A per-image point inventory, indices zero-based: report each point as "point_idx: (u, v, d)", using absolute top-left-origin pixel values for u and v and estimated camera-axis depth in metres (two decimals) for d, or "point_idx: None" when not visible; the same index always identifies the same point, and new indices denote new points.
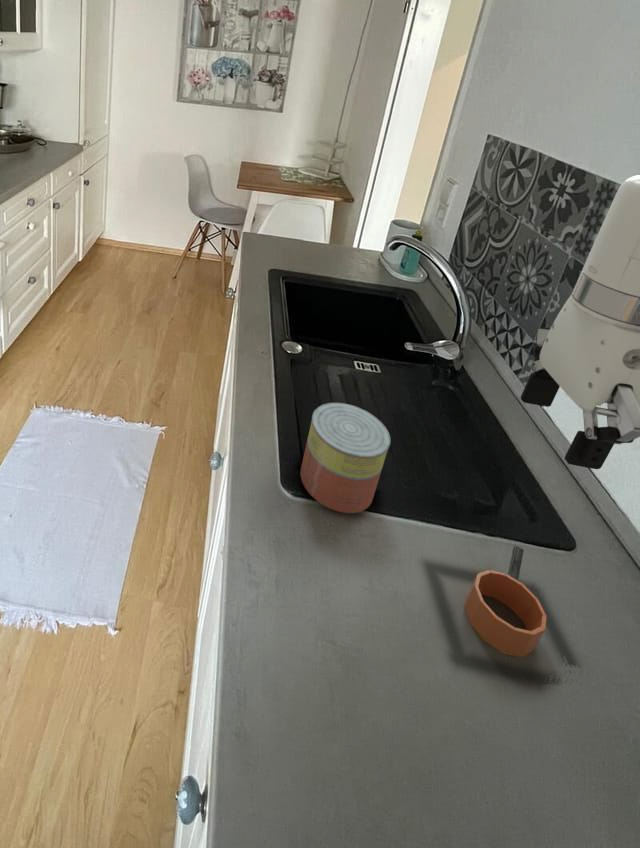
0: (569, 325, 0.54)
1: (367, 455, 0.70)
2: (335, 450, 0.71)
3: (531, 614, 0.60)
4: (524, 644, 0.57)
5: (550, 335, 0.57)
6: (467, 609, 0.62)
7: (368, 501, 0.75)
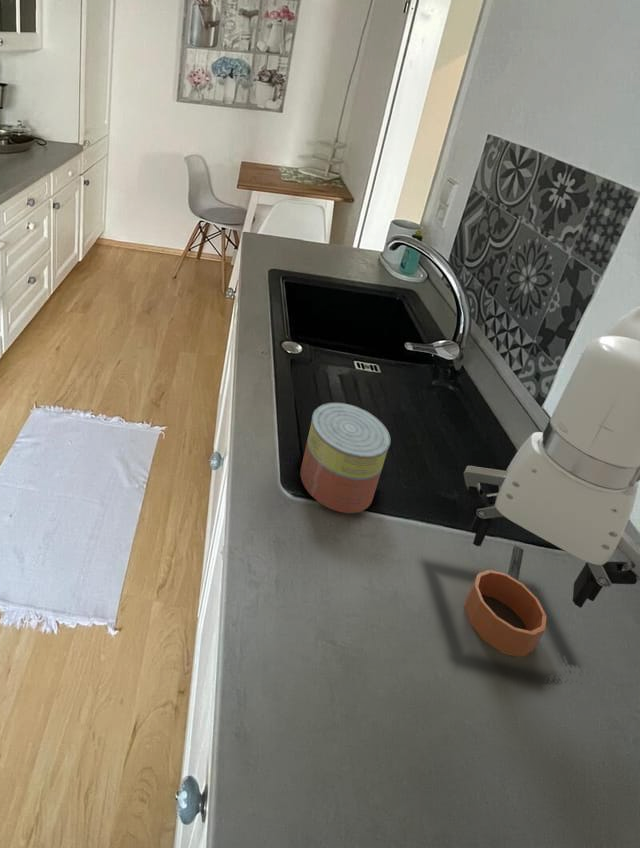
0: (553, 490, 0.52)
1: (367, 455, 0.70)
2: (335, 450, 0.71)
3: (531, 614, 0.60)
4: (524, 644, 0.57)
5: (516, 493, 0.54)
6: (467, 609, 0.62)
7: (368, 501, 0.75)
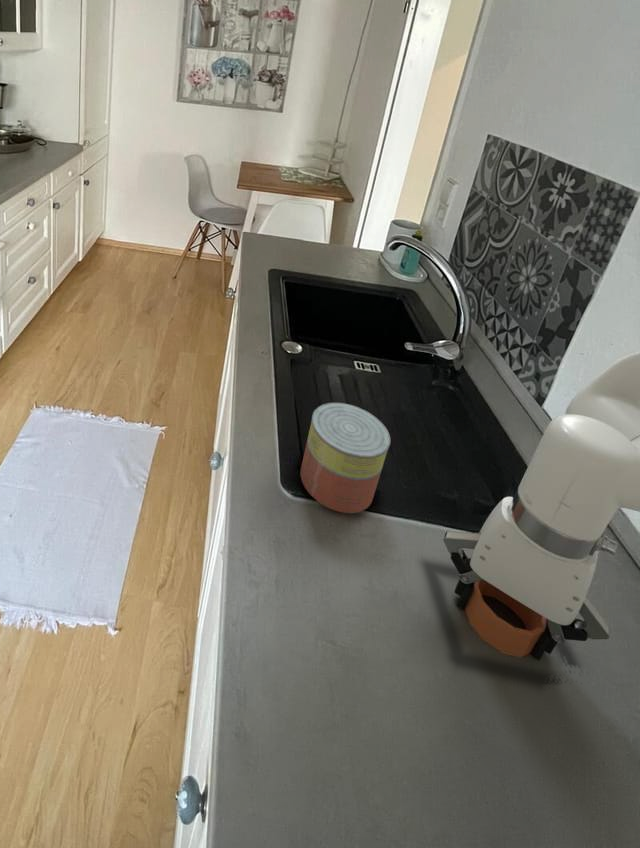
0: (521, 555, 0.55)
1: (367, 455, 0.70)
2: (335, 450, 0.72)
3: (531, 614, 0.60)
4: (524, 644, 0.57)
5: (488, 555, 0.58)
6: (467, 609, 0.62)
7: (368, 501, 0.75)
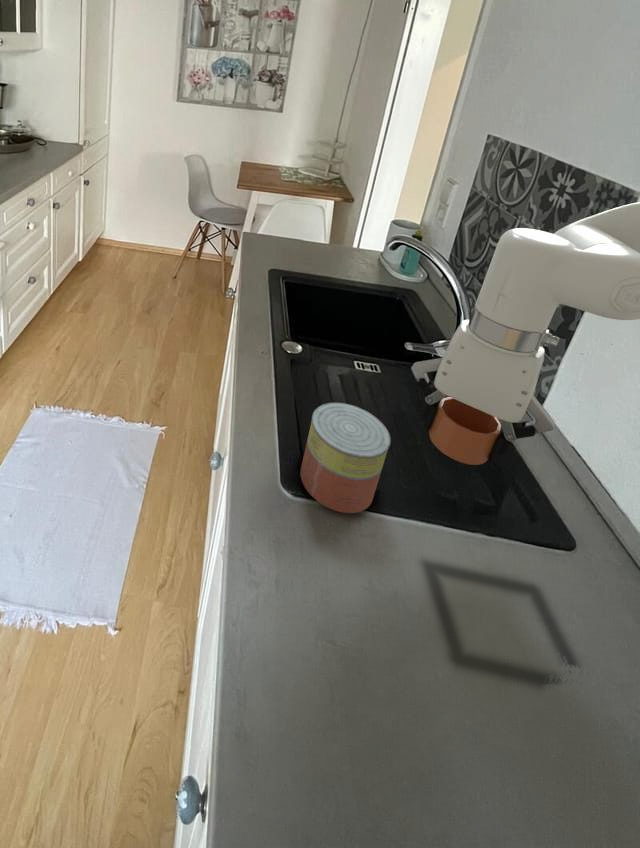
0: (477, 361, 0.62)
1: (367, 455, 0.70)
2: (335, 450, 0.71)
3: (489, 429, 0.67)
4: (481, 447, 0.64)
5: (449, 369, 0.64)
6: (432, 429, 0.68)
7: (368, 501, 0.75)
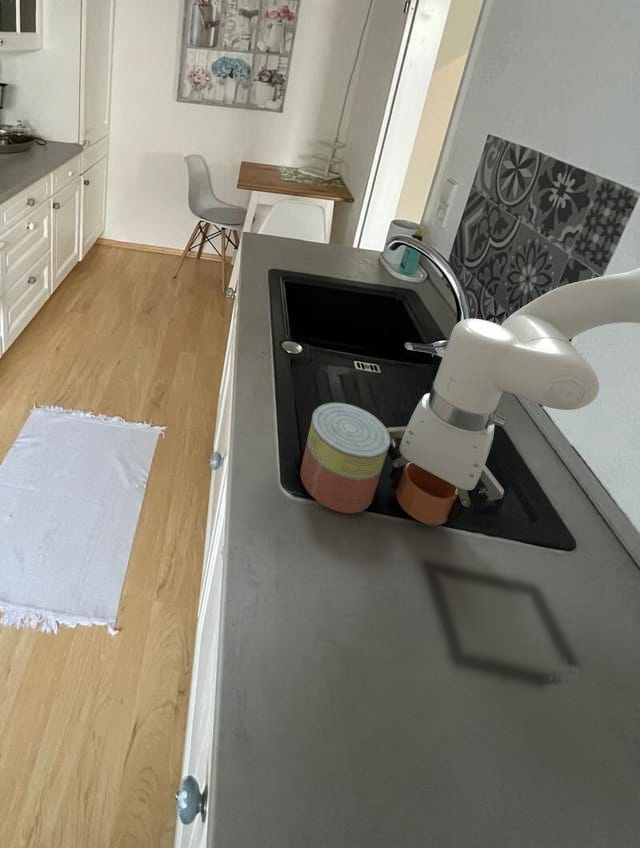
0: (435, 434, 0.69)
1: (367, 455, 0.70)
2: (335, 450, 0.72)
3: (449, 491, 0.74)
4: (439, 510, 0.71)
5: (412, 439, 0.72)
6: (398, 489, 0.76)
7: (368, 501, 0.75)
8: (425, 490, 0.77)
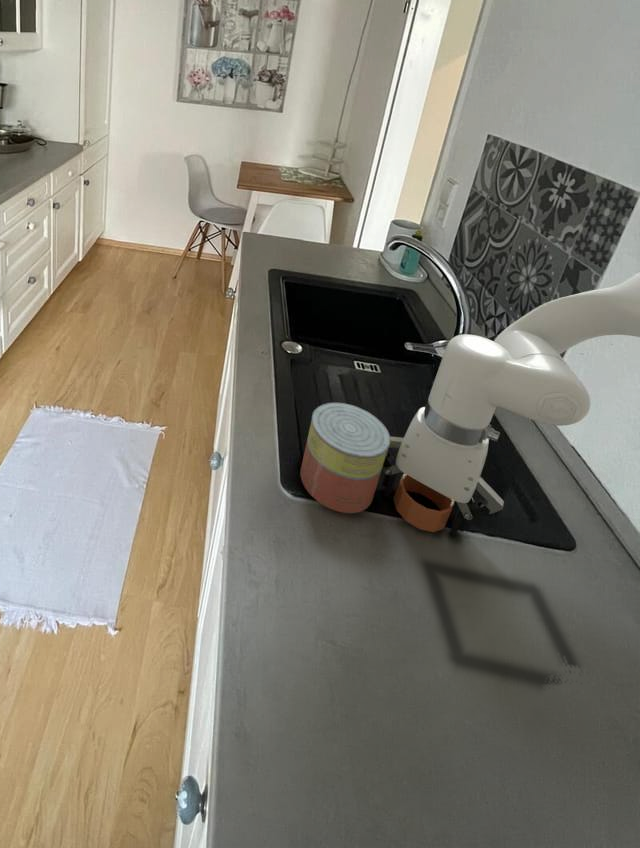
0: (430, 448, 0.70)
1: (367, 455, 0.70)
2: (335, 450, 0.72)
3: (444, 503, 0.75)
4: (435, 522, 0.72)
5: (407, 453, 0.72)
6: (394, 501, 0.76)
7: (368, 501, 0.75)
8: None
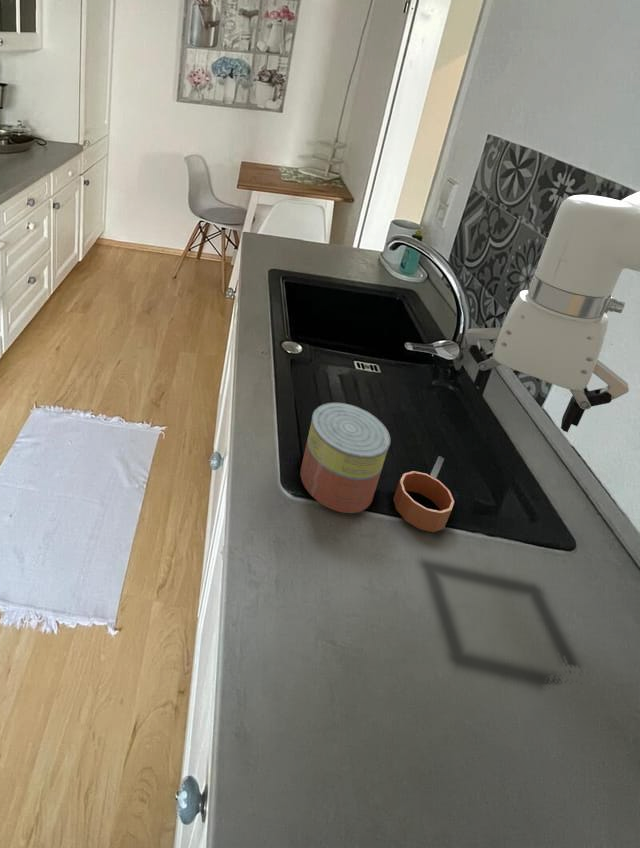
0: (539, 330, 0.62)
1: (367, 455, 0.70)
2: (335, 450, 0.72)
3: (444, 503, 0.75)
4: (435, 522, 0.72)
5: (509, 340, 0.65)
6: (394, 501, 0.76)
7: (368, 501, 0.75)
8: None
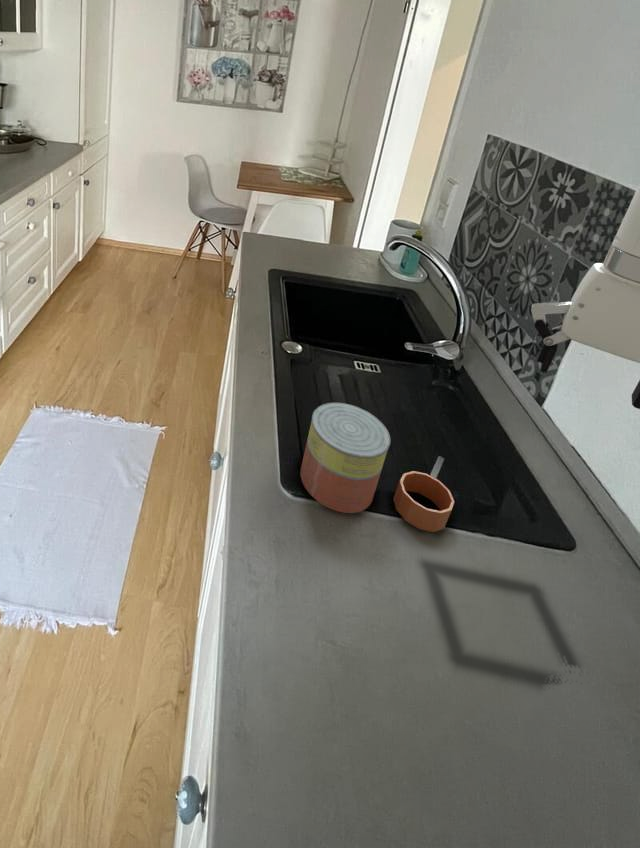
0: (616, 302, 0.60)
1: (367, 455, 0.70)
2: (335, 450, 0.72)
3: (444, 503, 0.75)
4: (435, 522, 0.72)
5: (582, 313, 0.63)
6: (394, 501, 0.76)
7: (368, 501, 0.75)
8: None
